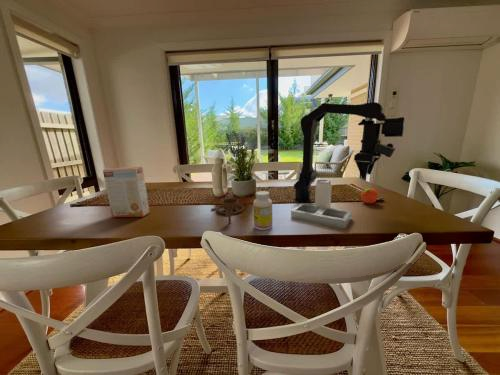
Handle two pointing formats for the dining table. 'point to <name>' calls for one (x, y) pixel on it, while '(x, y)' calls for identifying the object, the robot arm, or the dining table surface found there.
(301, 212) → the grey compartment tray
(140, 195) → the cracker box
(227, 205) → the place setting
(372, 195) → the clementine
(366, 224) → the dining table surface
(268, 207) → the supplement bottle
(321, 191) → the can
